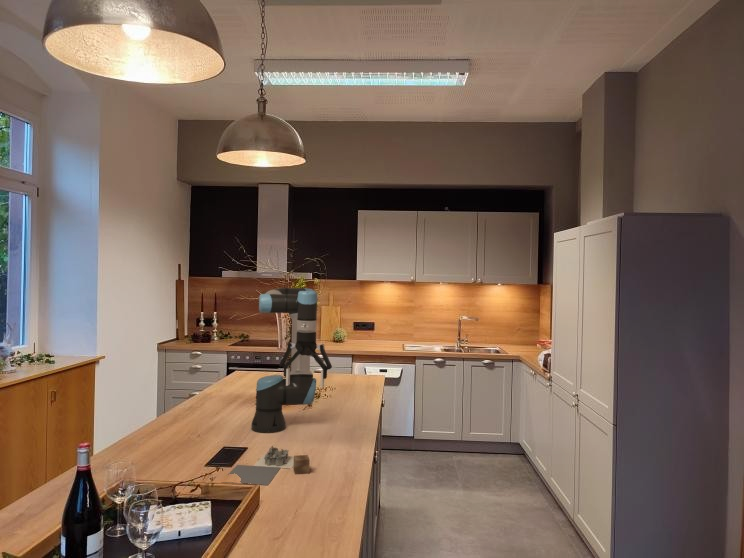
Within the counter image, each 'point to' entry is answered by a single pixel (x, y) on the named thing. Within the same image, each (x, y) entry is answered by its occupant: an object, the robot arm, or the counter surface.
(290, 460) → the tile
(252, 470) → the slate coaster
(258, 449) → the counter surface
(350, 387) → the counter surface
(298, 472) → the walnut block
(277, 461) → the egg carton
